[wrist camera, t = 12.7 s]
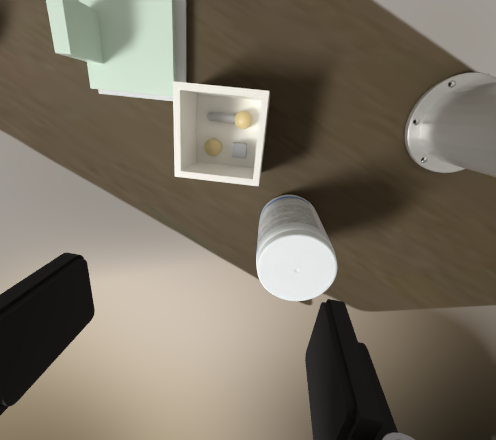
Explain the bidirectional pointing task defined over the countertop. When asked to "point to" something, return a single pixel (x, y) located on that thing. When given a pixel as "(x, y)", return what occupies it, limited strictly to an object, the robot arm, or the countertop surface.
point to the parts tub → (219, 132)
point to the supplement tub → (294, 250)
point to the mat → (180, 54)
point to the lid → (119, 42)
